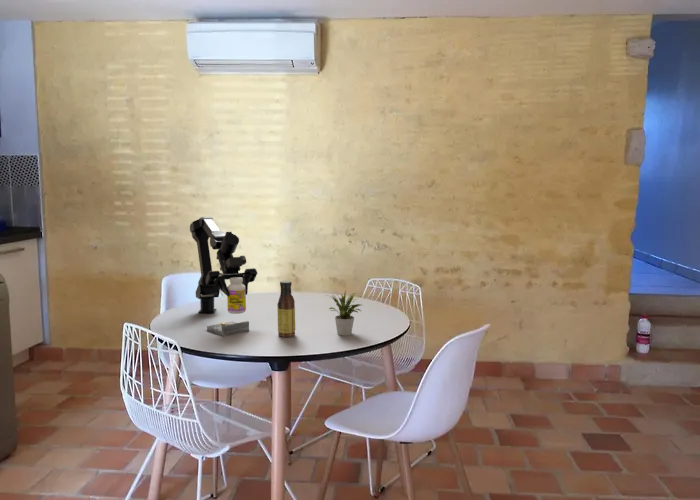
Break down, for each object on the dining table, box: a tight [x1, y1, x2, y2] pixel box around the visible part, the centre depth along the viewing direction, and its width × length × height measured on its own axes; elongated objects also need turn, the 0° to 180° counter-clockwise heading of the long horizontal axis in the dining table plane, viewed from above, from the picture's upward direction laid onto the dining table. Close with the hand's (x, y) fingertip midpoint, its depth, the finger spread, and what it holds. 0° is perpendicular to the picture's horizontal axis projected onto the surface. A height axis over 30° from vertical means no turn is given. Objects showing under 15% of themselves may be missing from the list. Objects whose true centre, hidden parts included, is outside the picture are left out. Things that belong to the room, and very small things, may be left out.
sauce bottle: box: [277, 280, 296, 338], centre depth 194 cm, size 6×6×20 cm
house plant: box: [326, 290, 363, 336], centre depth 197 cm, size 14×14×16 cm
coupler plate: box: [206, 320, 250, 337], centre depth 201 cm, size 11×11×4 cm
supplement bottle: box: [226, 277, 247, 315], centre depth 201 cm, size 7×7×13 cm
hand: (237, 295), depth 200 cm, fingers closed on supplement bottle, 7 cm apart
